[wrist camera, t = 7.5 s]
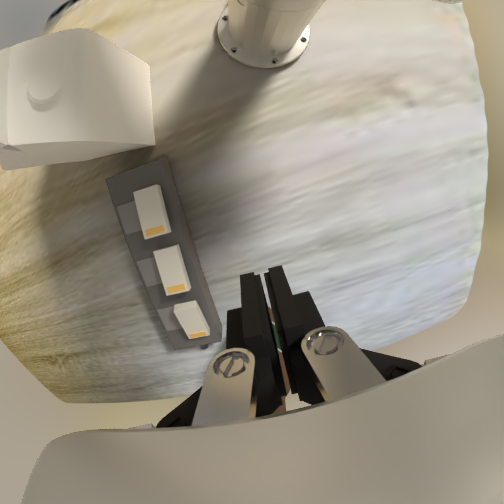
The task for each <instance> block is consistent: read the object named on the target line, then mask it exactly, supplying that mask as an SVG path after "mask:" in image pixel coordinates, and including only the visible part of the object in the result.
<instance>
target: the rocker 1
mask: <svg viewBox="0 0 504 504" xmlns="http://www.w3.org/2000/svg"><path fill="white" fill-rule="evenodd" d="M133 194H134V198H135V203H136V207H137V211H138V215H139V219H140V223H141V227H142V231H143V235H144V239H149V238H152V237H156V236H159V235H163V234H166V233H170V232H171V228H170V224H169V220H168V216H167V212H166V208H165V204H164V200H163V196H162V191H161V187H160V185H157V184H156V185H153V186H150V187H147V188H144V189H141V190H138V191H135V192H133Z"/></svg>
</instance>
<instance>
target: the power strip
mask: <svg viewBox="0 0 504 504" xmlns="http://www.w3.org/2000/svg"><path fill="white" fill-rule="evenodd" d="M106 182H107V185H108V188H109V192H110V195H111V198H112V201H113V204H114V207H115V210H116V213H117V216H118V219H119V222H120V225H121V227H122V230H123V233H124V236H125V239H126V241H127V244H128V247H129V249H130V252H131V254H132V257H133V259H134V262H135V264H136V267H137V269H138V272H139V274H140V277H141V279H142V281H143V284H144V286H145V288H146V291H147V293H148V295H149V298H150V300H151V302H152V304H153V306H154V309H155V311H156V313H157V315H158V317H159V319H160V322H161V324H162V326H163V328H164V330H165V332H166V334H167V336H168V338H169V340H170V342H171V344H172V346H173V348H174V350H176V349H182V348H188V347H194V346H200V345H201V348H202V349H206V348H208V344H211V343H216V342H221V341H222V324H221V322H220V319H219V316H218V314H217V311H216V308H215V305H214V302H213V300H212V297H211V294H210V291H209V288H208V285H207V283H206V280H205V277H204V274H203V271H202V268H201V265H200V262H199V259H198V256H197V253H196V250H195V247H194V244H193V241H192V238H191V234H190V231H189V228H188V225H187V222H186V219H185V215H184V212H183V209H182V205H181V202H180V199H179V195H178V192H177V189H176V185H175V182H174V178H173V175H172V171H171V168H170V164H169V161H168V157H167V158H163V159H159V160H156V161H153V162H150V163H147V164H144V165H142V166H139V167H136V168H133V169H131V170H128V171H125V172H123V173H120V174H117V175H115V176H112V177H110V178H107V179H106ZM156 184H157V185H160V187H161V191H162V196H163V200H164V204H165V208H166V212H167V216H168V220H169V224H170V228H171V232H170V233H166V234H163V235H159V236H156V237H152V238H149V239H144V235H143V231H142V227H141V223H140V219H139V215H138V211H137V207H136V203H135V198H134V194H133V192H135V191H138V190H141V189H144V188H147V187H150V186H153V185H156ZM177 244H179V247H180V251H181V254H182V258H183V261H184V265H185V268H186V272H187V275H188V278H189V282H190V285H191V289H190V290H189V291H186V292H181V293H177V294H173V295H168V296H167V295H166V292H165V289H164V286H163V283H162V279H161V276H160V273H159V270H158V266H157V263H156V260H155V256H154V253H153V252H154V251H156V250H159V249H162V248H166V247H170V246H173V245H177ZM194 300H196V301H197V303H198V305H199V307H200V309H201V312H202V314H203V316H204V318H205V320H206V322H207V324H208V326H209V328H210V335H208V336H203V337H198V338H192V339H189V338H188V336H187V334H186V332H185V331H184V329H183V327H182V326H181V324H180V322H179V320H178V319H177V317H176V315H175V313H174V305H176V304H181V303H185V302H190V301H194Z"/></svg>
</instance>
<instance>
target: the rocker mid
mask: <svg viewBox="0 0 504 504" xmlns="http://www.w3.org/2000/svg"><path fill="white" fill-rule="evenodd" d="M153 253H154V256H155V260H156V263H157V266H158V270H159V273H160V276H161V279H162V283H163V286H164V289H165V292H166V295H167V296H168V295H173V294H177V293H181V292H186V291H189V290H190V289H191V285H190V282H189V278H188V275H187V272H186V268H185V265H184V261H183V258H182V254H181V251H180V247H179V244H177V245H173V246H170V247H166V248H162V249H159V250H156V251H154V252H153Z"/></svg>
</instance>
